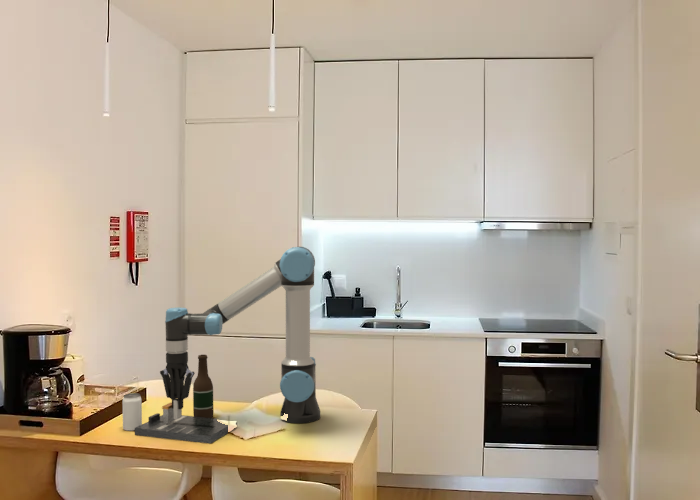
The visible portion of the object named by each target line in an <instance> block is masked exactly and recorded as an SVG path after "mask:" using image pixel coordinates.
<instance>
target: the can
mask: <svg viewBox="0 0 700 500" xmlns="http://www.w3.org/2000/svg"><path fill="white" fill-rule="evenodd" d="M142 401H143V399H142V397H141V394H140V393H137V392H136V393H133V392H132V393H126V394H125V395H123V398H122V428H123V430H124V431H126V432H135V428H136V427H138V426H140V425H142V424H143V413H142V412H143V407H142Z"/></svg>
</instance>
